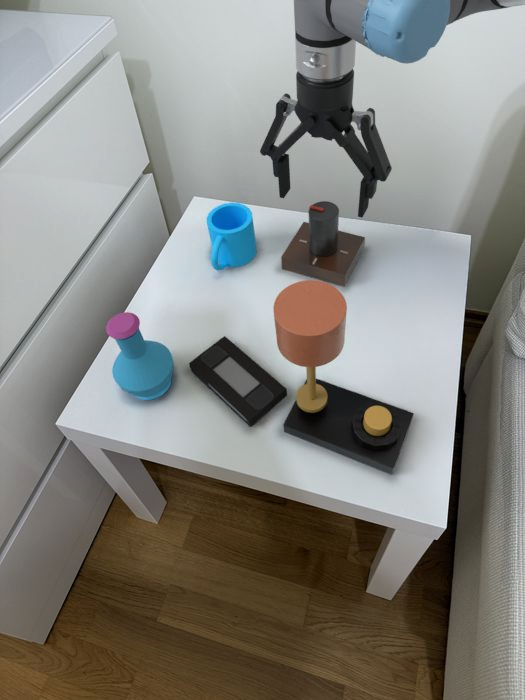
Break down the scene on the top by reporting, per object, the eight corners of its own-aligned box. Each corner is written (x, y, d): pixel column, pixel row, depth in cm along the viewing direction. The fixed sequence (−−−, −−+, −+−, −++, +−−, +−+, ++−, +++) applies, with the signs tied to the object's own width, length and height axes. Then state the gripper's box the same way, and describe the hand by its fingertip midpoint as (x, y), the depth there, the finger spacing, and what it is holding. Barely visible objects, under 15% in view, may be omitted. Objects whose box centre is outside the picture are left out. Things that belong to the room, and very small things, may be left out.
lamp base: (411, 420, 74) (415, 406, 71) (391, 475, 69) (395, 463, 66) (308, 383, 79) (308, 368, 76) (283, 431, 74) (282, 418, 71)
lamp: (348, 386, 73) (357, 291, 57) (327, 432, 69) (330, 345, 53) (297, 368, 76) (291, 272, 60) (274, 412, 72) (261, 322, 56)
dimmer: (341, 241, 92) (343, 203, 85) (331, 259, 90) (332, 222, 83) (315, 234, 94) (315, 196, 87) (304, 252, 91) (303, 215, 84)
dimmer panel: (364, 249, 95) (365, 236, 92) (344, 287, 90) (345, 274, 87) (303, 233, 98) (303, 220, 96) (281, 269, 94) (280, 256, 91)
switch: (393, 418, 70) (395, 410, 69) (385, 440, 68) (386, 433, 67) (368, 409, 71) (369, 401, 70) (359, 430, 70) (360, 423, 68)
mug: (225, 233, 101) (218, 199, 94) (263, 242, 98) (259, 207, 92) (197, 276, 94) (188, 242, 88) (237, 286, 92) (231, 252, 85)
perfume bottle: (131, 356, 85) (100, 295, 73) (185, 359, 84) (162, 298, 71) (114, 404, 80) (77, 348, 68) (171, 409, 78) (144, 352, 66)
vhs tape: (250, 427, 75) (249, 421, 74) (190, 370, 82) (188, 363, 81) (287, 395, 78) (286, 388, 76) (226, 343, 85) (224, 335, 83)
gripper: (227, 69, 69) (244, 199, 86) (411, 99, 61) (390, 235, 78) (252, 43, 72) (264, 172, 90) (429, 69, 65) (405, 205, 82)
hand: (323, 202), depth 84 cm, fingers open, 13 cm apart
